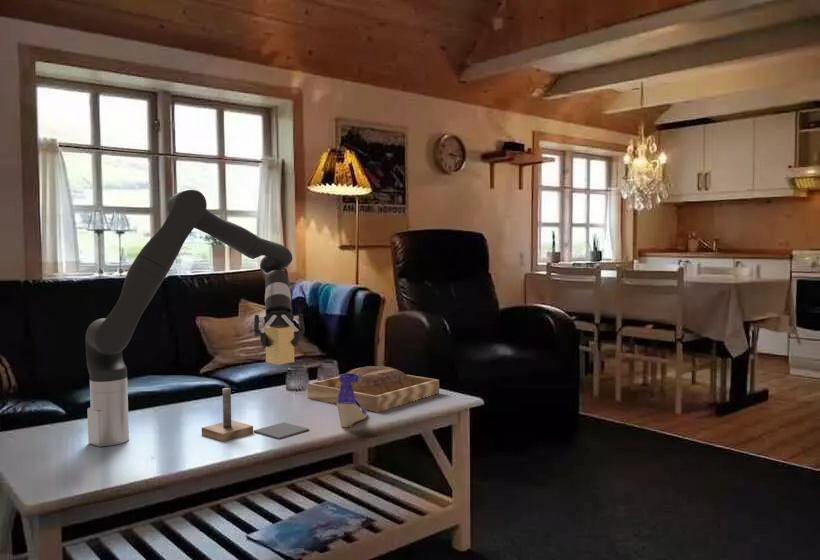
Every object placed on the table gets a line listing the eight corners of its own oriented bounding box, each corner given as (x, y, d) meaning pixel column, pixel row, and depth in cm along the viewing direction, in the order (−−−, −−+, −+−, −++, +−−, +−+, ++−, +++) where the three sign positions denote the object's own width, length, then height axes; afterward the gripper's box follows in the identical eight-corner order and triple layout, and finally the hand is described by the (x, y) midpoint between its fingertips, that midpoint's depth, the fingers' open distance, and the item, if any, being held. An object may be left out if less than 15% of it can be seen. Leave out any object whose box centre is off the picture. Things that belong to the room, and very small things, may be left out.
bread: (321, 394, 237) (320, 367, 237) (379, 383, 255) (378, 358, 254) (366, 407, 218) (366, 377, 217) (426, 394, 236) (426, 367, 235)
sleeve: (278, 364, 185) (278, 328, 184) (265, 362, 188) (265, 327, 188) (294, 361, 189) (293, 326, 188) (281, 359, 193) (281, 325, 192)
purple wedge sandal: (374, 413, 210) (373, 365, 209) (352, 430, 191) (351, 378, 190) (349, 411, 212) (349, 364, 211) (325, 428, 193) (325, 376, 192)
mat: (278, 439, 182) (278, 437, 182) (253, 432, 189) (253, 430, 189) (309, 430, 191) (309, 428, 191) (283, 424, 198) (283, 422, 198)
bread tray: (376, 412, 211) (376, 396, 210) (307, 397, 231) (307, 383, 231) (439, 393, 236) (439, 379, 236) (372, 382, 256) (372, 369, 256)
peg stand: (223, 441, 181) (222, 394, 180) (201, 434, 187) (200, 389, 186) (253, 433, 188) (252, 388, 188) (231, 427, 195) (230, 383, 194)
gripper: (253, 293, 193) (253, 338, 183) (302, 292, 197) (306, 336, 186) (253, 310, 199) (254, 354, 188) (301, 308, 202) (305, 352, 192)
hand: (280, 345), depth 187 cm, fingers closed on sleeve, 8 cm apart
